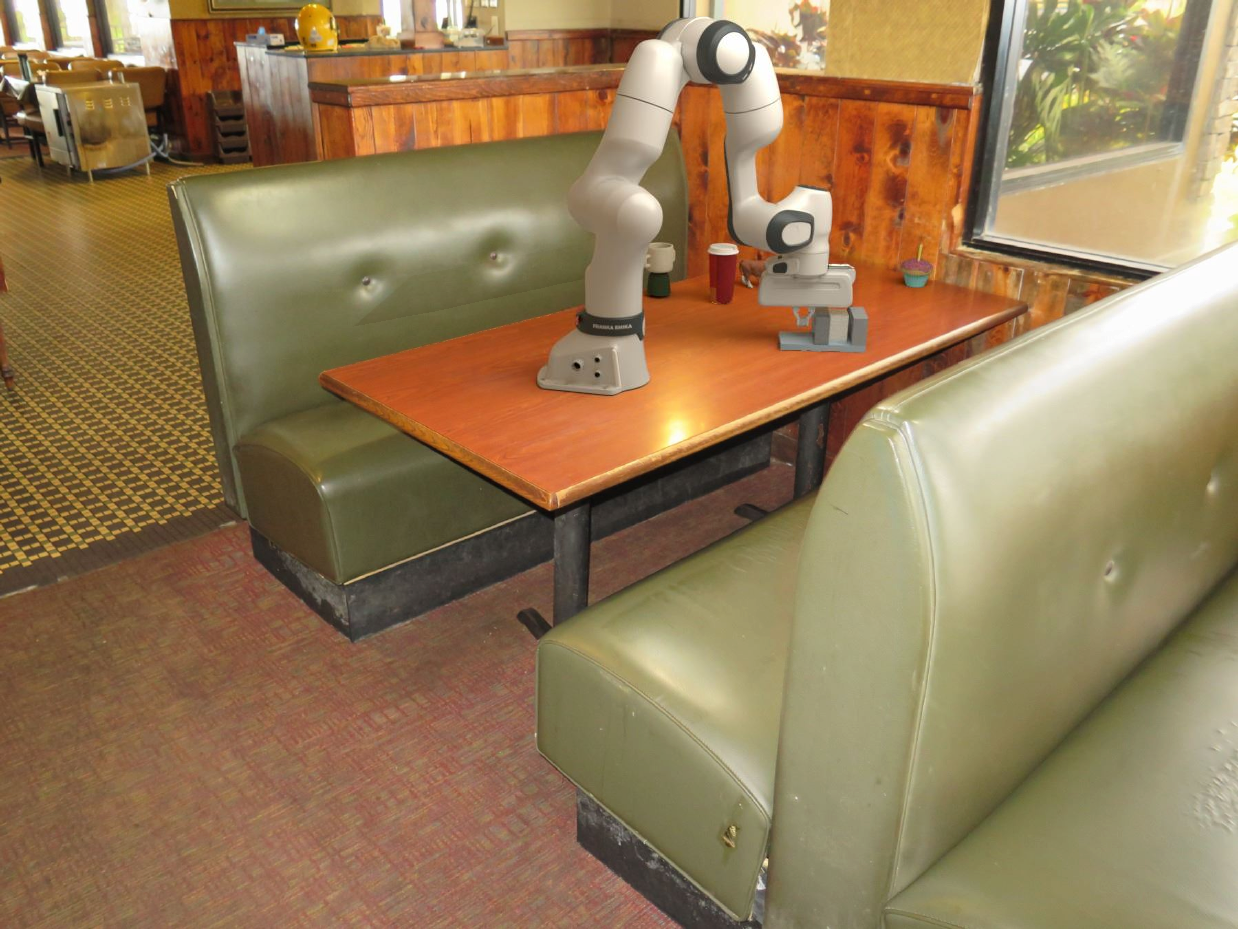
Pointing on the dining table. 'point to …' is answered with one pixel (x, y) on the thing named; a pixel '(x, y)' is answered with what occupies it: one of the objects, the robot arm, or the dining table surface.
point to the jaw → (821, 325)
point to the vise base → (853, 343)
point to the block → (838, 325)
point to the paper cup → (722, 272)
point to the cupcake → (916, 270)
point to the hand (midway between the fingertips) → (802, 325)
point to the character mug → (659, 268)
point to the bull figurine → (751, 270)
